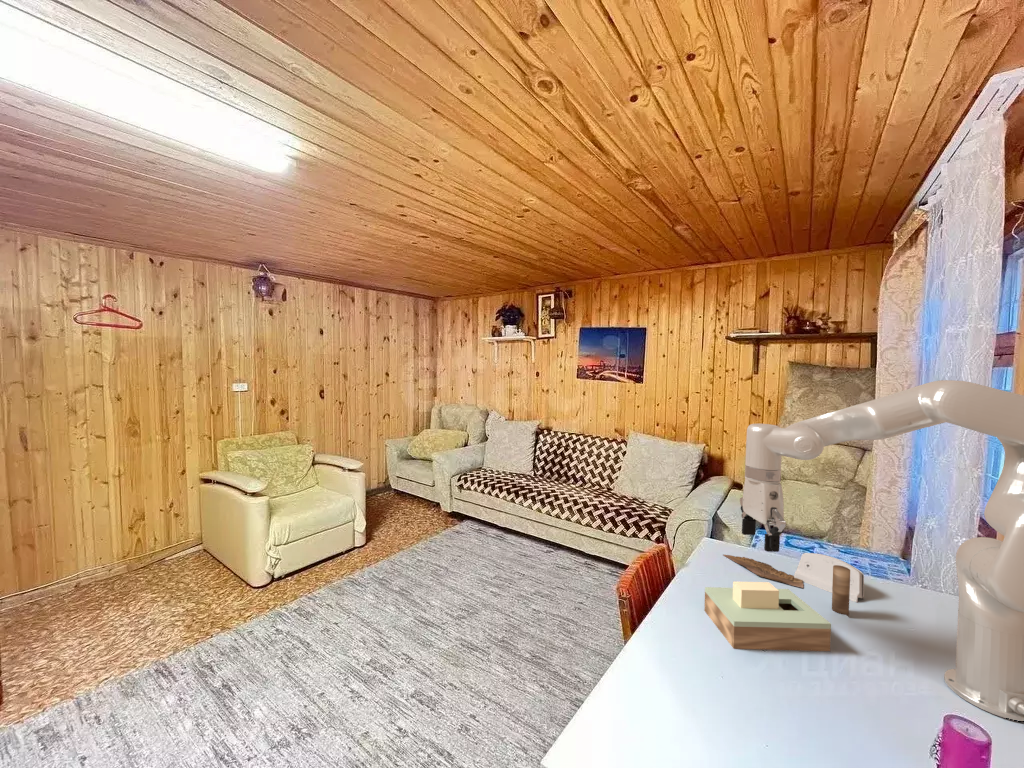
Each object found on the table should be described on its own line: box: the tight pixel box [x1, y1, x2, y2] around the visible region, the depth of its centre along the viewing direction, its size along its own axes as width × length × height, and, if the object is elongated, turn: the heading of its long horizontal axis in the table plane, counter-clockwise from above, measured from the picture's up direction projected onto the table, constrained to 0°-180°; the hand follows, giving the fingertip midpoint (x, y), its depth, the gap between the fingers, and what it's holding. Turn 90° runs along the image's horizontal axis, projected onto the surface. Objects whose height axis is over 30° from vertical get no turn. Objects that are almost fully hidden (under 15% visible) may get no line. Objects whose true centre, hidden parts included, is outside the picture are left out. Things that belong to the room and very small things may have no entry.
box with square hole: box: [703, 591, 832, 652], centre depth 101 cm, size 15×22×6 cm
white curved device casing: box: [793, 552, 865, 603], centre depth 124 cm, size 17×5×10 cm, turn 32°
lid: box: [704, 581, 832, 630], centre depth 101 cm, size 15×22×6 cm
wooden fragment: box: [723, 554, 805, 589], centre depth 134 cm, size 26×11×1 cm, turn 27°
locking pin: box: [831, 565, 850, 618], centre depth 110 cm, size 4×4×12 cm
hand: (759, 542), depth 101 cm, fingers open, 9 cm apart
